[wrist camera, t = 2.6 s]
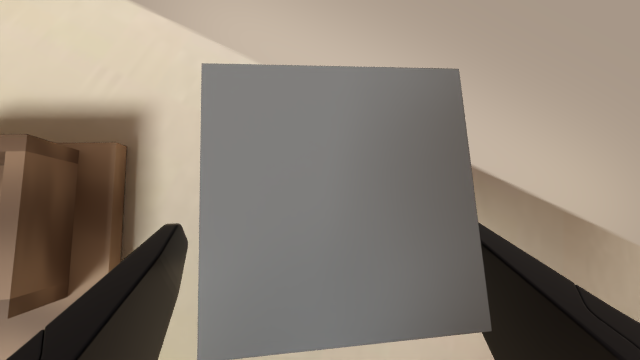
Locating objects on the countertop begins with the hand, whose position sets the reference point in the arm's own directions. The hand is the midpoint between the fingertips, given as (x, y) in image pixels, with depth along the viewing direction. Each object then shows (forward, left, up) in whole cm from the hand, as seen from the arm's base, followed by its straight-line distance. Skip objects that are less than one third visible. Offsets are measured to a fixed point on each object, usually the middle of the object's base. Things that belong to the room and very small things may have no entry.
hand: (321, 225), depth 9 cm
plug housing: (+1, 0, -8) cm, 8 cm away
